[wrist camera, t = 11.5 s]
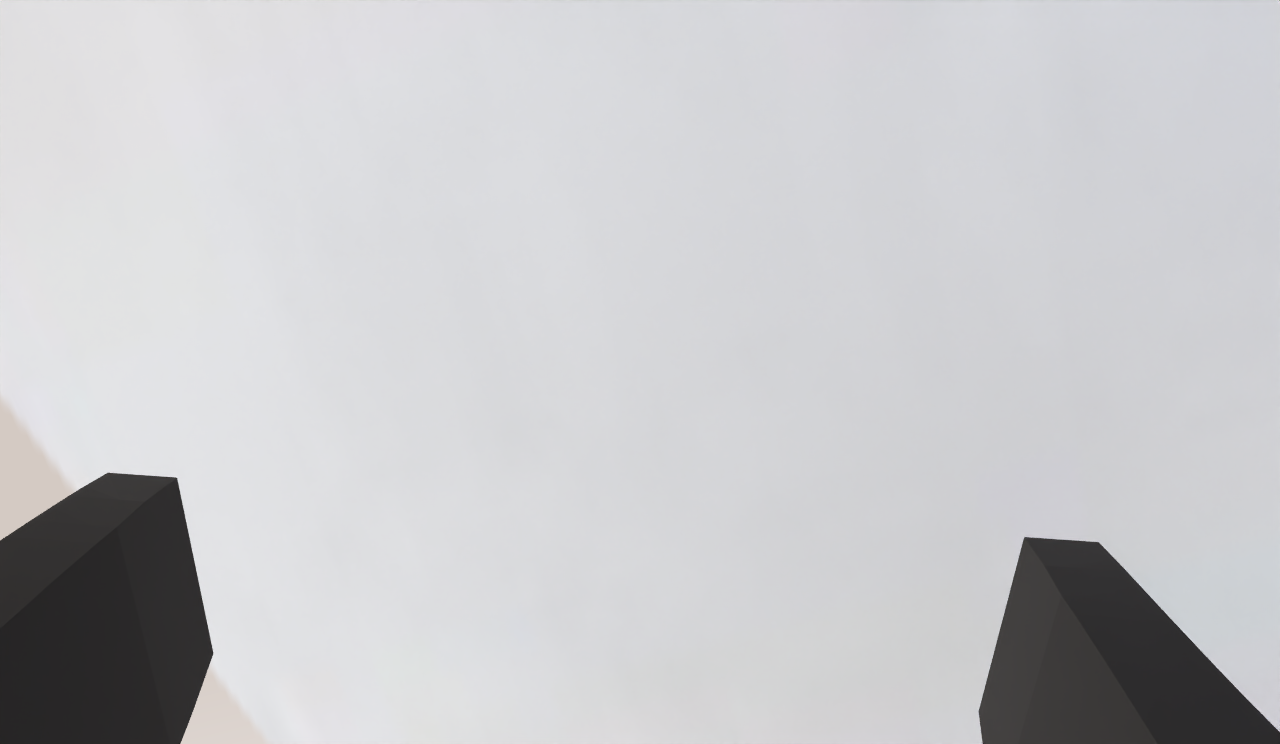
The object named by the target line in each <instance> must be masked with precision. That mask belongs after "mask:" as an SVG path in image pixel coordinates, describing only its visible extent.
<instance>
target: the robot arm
mask: <svg viewBox="0 0 1280 744" xmlns="http://www.w3.org/2000/svg"><path fill="white" fill-rule="evenodd" d="M212 656H213V649H212V645H211V640H210V635H209V630H208V625H207V620H206V616H205V611H204V606H203V601H202V596H201V592H200V587H199V582H198V577H197V572H196V567H195V563H194V558H193V553H192V548H191V543H190V538H189V534H188V529H187V524H186V519H185V514H184V509H183V505H182V500H181V495H180V490H179V485H178V481H177V478H174V477H159V476H145V475H131V474H117V473H107V474H105V475H103V476H102V477H100V478H98V479H96V480H95V481H93V482H91V483H89V484H88V485H86V486H84V487H83V488H81V489H79V490H78V491H76V492H75V493H73V494H71V495H70V496H68V497H67V498H65V499H63V500H62V501H60V502H59V503H57V504H56V505H54V506H52V507H51V508H50V509H48V510H46V511H45V512H43V513H42V514H40V515H39V516H37V517H35V518H34V519H32V520H31V521H29V522H28V523H26V524H25V525H23V526H22V527H20V528H19V529H17V530H16V531H14V532H13V533H11V534H10V535H8V536H6V537H5V538H3V539H2V540H1V541H0V744H180V743H181V741H182V738H183V735H184V733H185V730H186V728H187V725H188V723H189V720H190V717H191V715H192V712H193V710H194V707H195V704H196V701H197V698H198V695H199V692H200V690H201V687H202V684H203V681H204V678H205V676H206V673H207V670H208V667H209V664H210V661H211V659H212ZM979 718H980V725H981V733H982V741H983V744H1280V732H1279V731H1278V730H1277V729H1276V728H1275V727H1274V726H1273V725H1272V724H1271V723H1270V722H1269V721H1268V720H1267V719H1266V718H1265V717H1264V716H1263V715H1262V714H1261V713H1260V712H1259V711H1258V710H1257V709H1256V708H1255V707H1254V706H1253V705H1252V704H1251V703H1250V702H1249V701H1248V700H1247V699H1246V698H1245V697H1244V696H1243V695H1242V694H1241V693H1240V692H1239V690H1238V689H1237V688H1236V687H1235V686H1234V685H1233V684H1232V683H1231V682H1230V681H1229V680H1228V679H1227V678H1226V677H1225V676H1224V675H1223V674H1222V673H1221V672H1220V671H1219V670H1218V669H1217V668H1216V667H1215V665H1214V664H1213V663H1212V662H1211V661H1210V660H1209V659H1208V658H1207V657H1206V656H1205V655H1204V654H1203V653H1202V652H1201V651H1200V650H1199V649H1198V647H1197V646H1196V645H1195V644H1194V643H1193V642H1192V641H1191V640H1190V639H1189V638H1188V637H1187V636H1186V635H1185V634H1184V633H1183V631H1182V630H1181V629H1180V628H1179V627H1178V626H1177V625H1176V624H1175V623H1174V622H1173V621H1172V620H1171V619H1170V618H1169V617H1168V615H1167V614H1166V613H1165V612H1164V611H1163V610H1162V609H1161V608H1160V607H1159V606H1158V605H1157V604H1156V603H1155V601H1154V600H1153V599H1152V598H1151V597H1150V596H1149V595H1148V594H1147V593H1146V592H1145V591H1144V590H1143V588H1142V587H1141V586H1140V585H1139V584H1138V583H1137V582H1136V581H1135V580H1134V579H1133V578H1132V577H1131V576H1130V575H1129V573H1128V572H1127V571H1126V570H1125V569H1124V568H1123V567H1122V566H1121V565H1120V564H1119V563H1118V562H1117V561H1116V560H1115V559H1114V558H1113V557H1112V556H1111V555H1110V554H1109V553H1108V552H1107V550H1106V549H1105V548H1104V547H1103V546H1102V545H1101V544H1100V543H1099V542H1086V541H1072V540H1057V539H1043V538H1029V537H1024V540H1023V544H1022V548H1021V552H1020V556H1019V559H1018V563H1017V567H1016V571H1015V575H1014V578H1013V582H1012V586H1011V590H1010V594H1009V598H1008V601H1007V605H1006V609H1005V613H1004V617H1003V621H1002V624H1001V628H1000V632H999V636H998V640H997V644H996V647H995V651H994V655H993V659H992V663H991V667H990V670H989V674H988V678H987V682H986V686H985V690H984V693H983V697H982V701H981V705H980V709H979Z"/></svg>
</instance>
